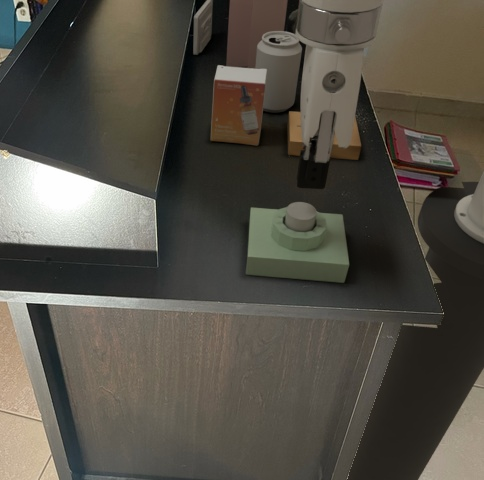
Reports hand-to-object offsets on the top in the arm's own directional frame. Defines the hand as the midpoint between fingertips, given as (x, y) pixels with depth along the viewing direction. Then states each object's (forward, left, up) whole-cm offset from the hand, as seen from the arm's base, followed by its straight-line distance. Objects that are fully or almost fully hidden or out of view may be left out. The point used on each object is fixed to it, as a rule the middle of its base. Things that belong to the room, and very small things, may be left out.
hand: (310, 184), depth 67 cm
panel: (-5, -29, -10) cm, 31 cm away
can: (+3, -41, -10) cm, 42 cm away
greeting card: (+6, -55, -11) cm, 56 cm away
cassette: (+19, -67, -10) cm, 70 cm away
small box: (+9, -29, -10) cm, 32 cm away
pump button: (0, 0, -6) cm, 6 cm away
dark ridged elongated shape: (-2, -77, -10) cm, 77 cm away
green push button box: (0, 0, -10) cm, 10 cm away
